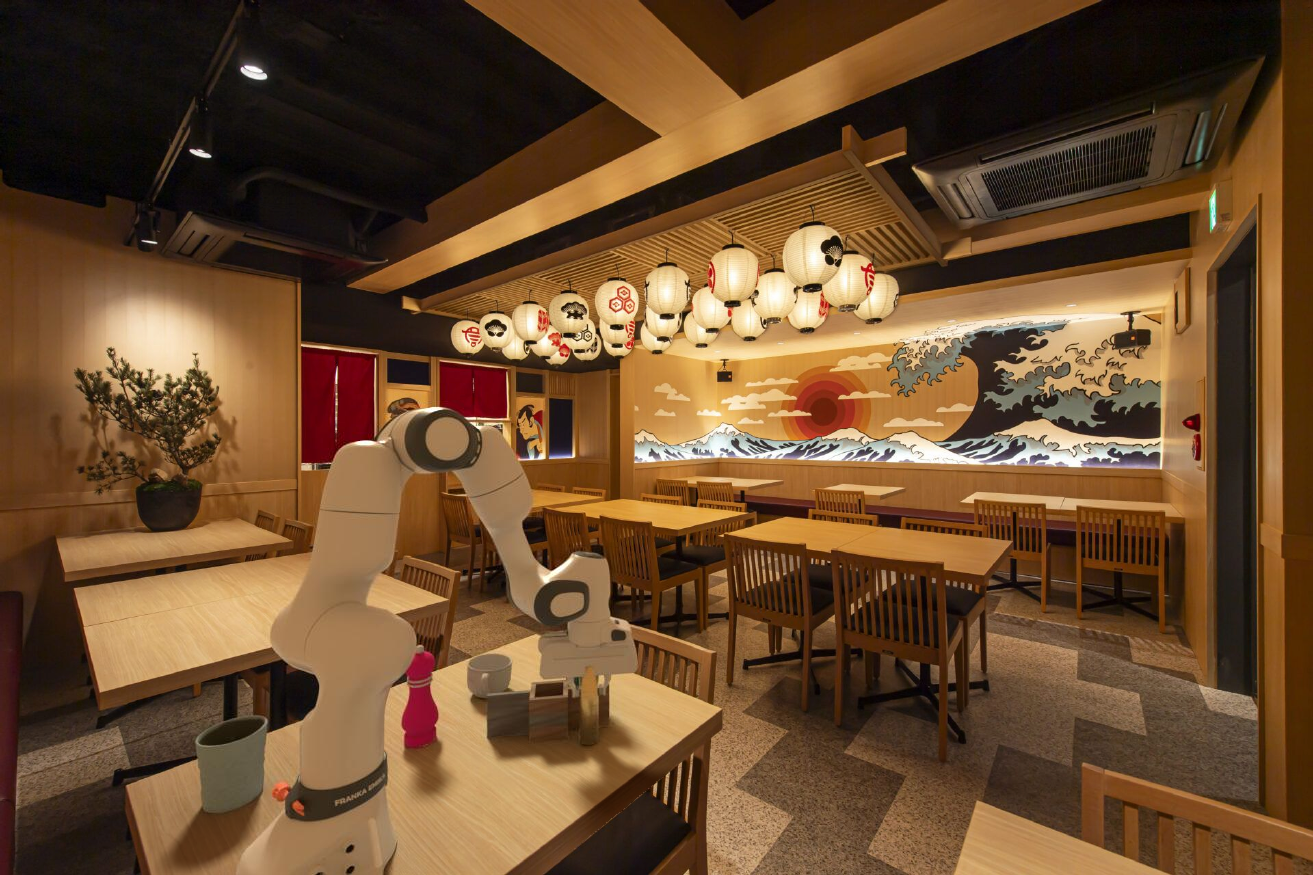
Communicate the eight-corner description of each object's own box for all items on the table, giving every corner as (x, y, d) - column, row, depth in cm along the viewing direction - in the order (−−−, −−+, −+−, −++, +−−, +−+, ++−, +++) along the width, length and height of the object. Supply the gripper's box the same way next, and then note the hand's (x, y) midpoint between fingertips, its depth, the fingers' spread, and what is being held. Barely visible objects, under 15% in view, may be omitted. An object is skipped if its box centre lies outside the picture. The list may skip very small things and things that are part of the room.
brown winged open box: (610, 735, 113) (610, 693, 113) (484, 747, 109) (484, 704, 109) (608, 715, 121) (607, 676, 121) (490, 726, 117) (489, 685, 117)
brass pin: (589, 746, 108) (589, 668, 108) (575, 740, 110) (575, 663, 110) (602, 737, 111) (602, 661, 111) (588, 731, 113) (588, 656, 113)
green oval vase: (211, 824, 88) (211, 752, 88) (185, 803, 93) (184, 735, 92) (279, 788, 97) (278, 723, 96) (251, 771, 101) (251, 709, 101)
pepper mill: (424, 751, 108) (424, 653, 107) (393, 747, 109) (392, 650, 109) (445, 731, 115) (445, 640, 114) (416, 728, 116) (415, 637, 116)
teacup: (476, 681, 138) (476, 651, 137) (518, 682, 137) (517, 651, 137) (454, 709, 124) (454, 675, 124) (500, 710, 123) (499, 676, 123)
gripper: (537, 638, 105) (537, 707, 106) (638, 631, 109) (638, 698, 109) (539, 626, 112) (539, 691, 112) (635, 621, 115) (635, 684, 115)
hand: (589, 695), depth 110 cm, fingers closed on brass pin, 4 cm apart
